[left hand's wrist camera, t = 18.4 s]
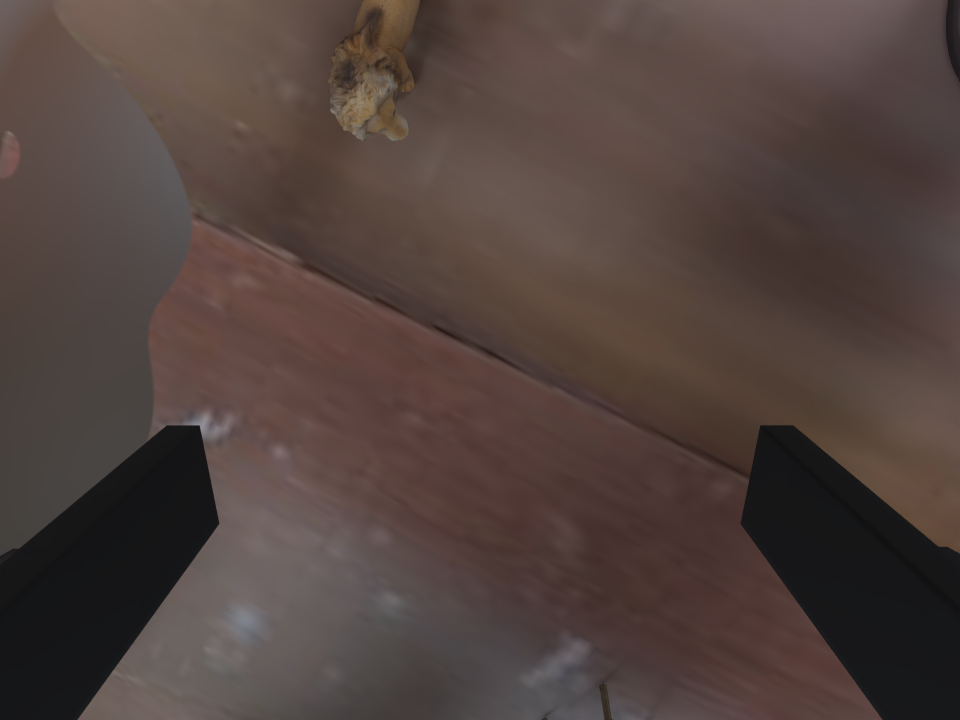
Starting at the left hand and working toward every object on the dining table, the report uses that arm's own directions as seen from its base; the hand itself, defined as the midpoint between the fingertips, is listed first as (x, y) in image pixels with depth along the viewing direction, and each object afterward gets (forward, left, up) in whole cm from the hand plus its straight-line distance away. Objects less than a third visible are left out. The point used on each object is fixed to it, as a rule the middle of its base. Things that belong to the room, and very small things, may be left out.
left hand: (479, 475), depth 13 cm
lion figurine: (-7, -14, -29) cm, 33 cm away
